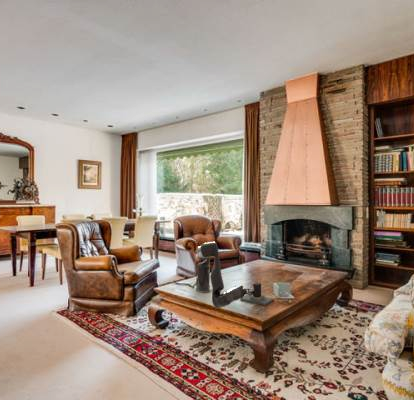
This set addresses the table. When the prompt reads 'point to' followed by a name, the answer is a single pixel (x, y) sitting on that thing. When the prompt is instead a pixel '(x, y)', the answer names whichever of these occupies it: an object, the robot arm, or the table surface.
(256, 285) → the pad block
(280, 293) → the l-shaped corner panel
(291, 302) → the table surface
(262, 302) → the base pad
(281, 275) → the table surface
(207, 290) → the robot arm
